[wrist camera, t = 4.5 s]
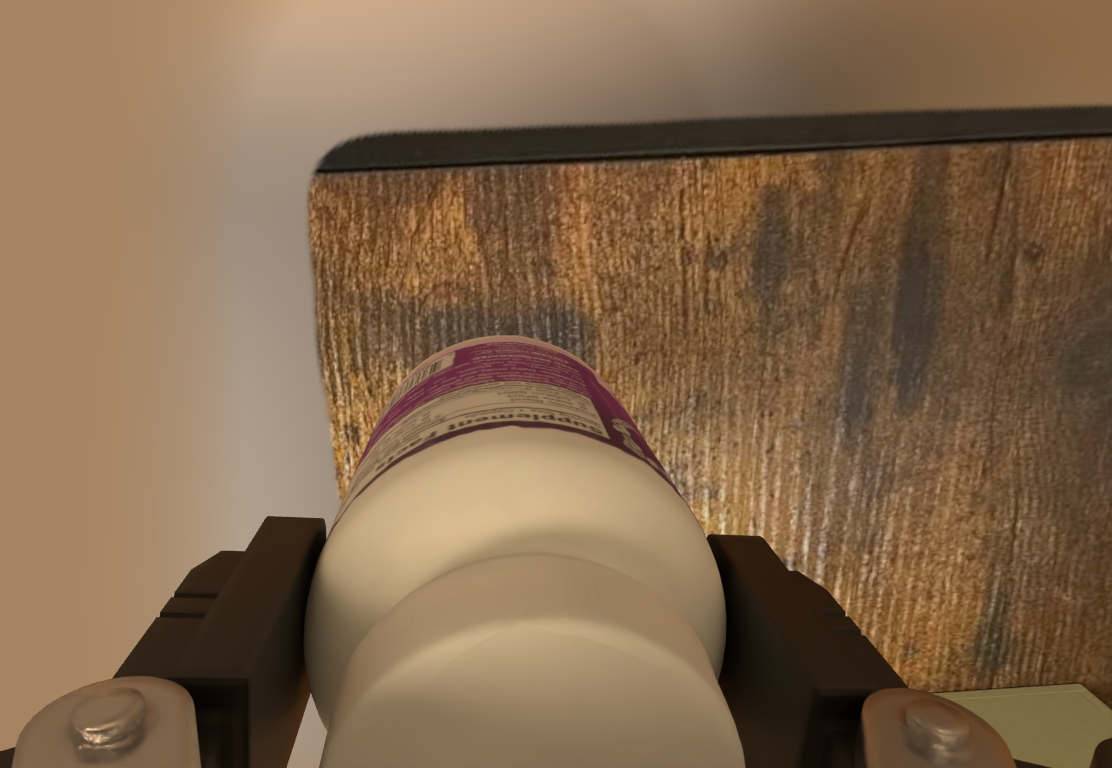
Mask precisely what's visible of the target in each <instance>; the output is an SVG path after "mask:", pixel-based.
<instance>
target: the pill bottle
mask: <svg viewBox="0 0 1112 768" xmlns="http://www.w3.org/2000/svg"><path fill="white" fill-rule="evenodd" d="M726 620H727V617H726V605H725V597H724V591H723V587H722V582H721V578H720V574H719V570H718V567H717V564H716V561H715V558H714V556H713V553H712V551H711V548H710V546H709V544H708V541H707V539H706V536H705V534H704V532H703V529H702V527H701V525H700V524H699V522H698V520H697V519H696V517H695V515H694V514H693V512H692V511H691V509H690V507H689V506H688V505H687V503H686V502H685V501H684V499H683V498H682V496H681V495H680V493H679V492H678V490H677V489H676V487H675V485H674V484H673V483H672V481H671V480H670V479H669V477H668V475H667V474H666V472H665V470H664V469H663V467H662V465H661V464H660V462H659V461H658V459H657V458H656V457H655V455H654V454H653V452H652V451H651V449H650V448H649V446H648V445H647V443H646V441H645V440H644V438H643V436H642V435H641V433H640V431H639V430H638V428H637V427H636V425H635V424H634V423H633V421H632V420H631V418H630V416H629V414H628V413H627V411H626V410H625V408H624V407H623V405H622V404H621V403H620V402H619V400H618V399H617V397H616V396H615V394H614V393H613V392H612V390H611V389H610V388H609V387H608V385H607V384H606V383H605V381H604V380H603V379H602V378H601V377H600V376H599V375H598V374H597V373H596V372H595V371H594V370H593V369H592V368H590V367H589V366H588V365H587V364H586V363H584V362H583V361H582V360H581V359H579V358H578V357H576V356H574V355H572V354H571V353H569V352H567V351H566V350H563V349H561V348H559V347H557V346H554V345H552V344H549V343H546V342H543V341H540V340H536V339H532V338H528V337H523V336H515V335H513V336H487V337H480V338H475V339H471V340H466V341H464V342H461V343H458V344H455V345H452V346H450V347H448V348H446V349H444V350H442V351H440V352H438V353H436V354H434V355H432V356H431V357H429V358H428V359H426V360H425V361H423V362H422V363H421V364H419V365H418V366H417V367H416V368H415V369H414V370H413V371H412V372H411V373H410V374H409V375H408V376H407V377H406V378H405V379H404V380H403V381H402V382H401V383H400V385H399V386H398V387H397V388H396V390H395V391H394V393H393V395H392V396H391V398H390V399H389V401H388V402H387V404H386V406H385V408H384V410H383V412H382V414H381V416H380V418H379V420H378V422H377V424H376V426H375V428H374V431H373V433H372V435H371V437H370V439H369V442H368V444H367V446H366V449H365V451H364V453H363V455H362V457H361V459H360V462H359V464H358V466H357V468H356V471H355V473H354V476H353V478H352V480H351V482H350V485H349V487H348V490H347V492H346V495H345V497H344V499H343V502H342V504H341V507H340V509H339V512H338V514H337V516H336V519H335V521H334V523H333V526H332V528H331V531H330V533H329V535H328V538H327V540H326V542H325V545H324V547H323V548H322V550H321V553H320V555H319V557H318V560H317V564H316V567H315V570H314V574H313V577H312V581H311V587H310V591H309V595H308V600H307V606H306V612H305V621H304V637H303V649H304V658H305V668H306V673H307V678H308V682H309V686H310V690H311V694H312V697H313V700H314V702H315V705H316V708H317V711H318V713H319V716H320V718H321V720H322V722H323V724H324V726H325V728H326V730H327V731H328V732H327V736H326V741H325V745H324V749H323V753H322V758H321V762H320V766H319V768H745V761H744V754H743V748H742V745H741V742H740V739H739V735H738V732H737V729H736V725H735V722H734V720H733V717H732V715H731V712H730V710H729V708H728V705H727V703H726V700H725V698H724V696H723V693H722V691H721V689H720V687H719V684H718V679H719V676H720V672H721V668H722V664H723V659H724V651H725V644H726Z"/></svg>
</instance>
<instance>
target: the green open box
mask: <svg viewBox="0 0 1112 768" xmlns="http://www.w3.org/2000/svg"><path fill="white" fill-rule="evenodd" d="M932 694H935V695H938V696H941V697H943V698H946V699H949V700H951V701H953V702H955V703H957V704H959V705H961V706H963V707H965V708H967V709H968V710H970V711H972V712H973V713H975V714H976V715H978V716H979V717H981V718H982V719H983V720H985V721H986V722H987V723H988V724H990V725H991V726H992V727H993V728H994V729H995V730H996V731H997V732H998V733H999V734H1000V736H1001V737H1002V738H1003V740H1004V741H1005V742H1006V744H1007V746H1008V748H1009V750H1010V752H1011V755H1012V758H1013V759H1017V760H1021V761H1025V762H1029V763H1034V764H1038V765H1042V766H1047V767H1051V768H1089V767H1090V764H1091V761H1092V758H1093V754H1094V751H1095V748H1096V747H1097V745H1098V744H1099V743H1100V742H1102V741H1103V740H1106V739H1109V738H1112V710H1111V709H1110V708H1109V707H1107V706H1106V705H1105V704H1104V703H1103V702H1101V701H1100V700H1099V699H1098V698H1097V697H1095V696H1094V695H1093V694H1092V693H1091V692H1089V691H1088V690H1087V689H1086V688H1085V687H1084V686H1082V685H1081V684H1064V685H1049V686H1034V687H1019V688H1004V689H989V690H974V691H960V692H945V693H932Z"/></svg>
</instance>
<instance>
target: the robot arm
mask: <svg viewBox="0 0 1112 768" xmlns="http://www.w3.org/2000/svg"><path fill="white" fill-rule="evenodd" d="M706 539H707V541H708V544H709V546H710V548H711V551H712V553H713V556H714V558H715V561H716V564H717V567H718V570H719V574H720V578H721V582H722V587H723V591H724V597H725V605H726V617H727V620H726V644H725V651H724V659H723V664H722V668H721V672H720V676H719V679H718V684H719V687H720V689H721V691H722V693H723V696H724V698H725V700H726V703H727V705H728V708H729V710H730V712H731V715H732V717H733V720H734V722H735V725H736V729H737V732H738V735H739V739H740V742H741V745H742V748H743V754H744V761H745V768H1051V767H1047V766H1042V765H1038V764H1034V763H1029V762H1025V761H1021V760H1017V759H1013V758H1012V755H1011V752H1010V750H1009V748H1008V746H1007V744H1006V742H1005V741H1004V740H1003V738H1002V737H1001V736H1000V734H999V733H998V732H997V731H996V730H995V729H994V728H993V727H992V726H991V725H990V724H988V723H987V722H986V721H985V720H983V719H982V718H981V717H979V716H978V715H976V714H975V713H973V712H972V711H970V710H968V709H967V708H965V707H963V706H961V705H959V704H957V703H955V702H953V701H951V700H949V699H946V698H943V697H941V696H938V695H935V694H932V693H928V692H925V691H920V690H915V689H909V688H908V686H907V685H906V684H905V683H904V682H903V681H902V679H901V678H900V677H899V676H898V675H897V673H896V672H895V671H894V670H893V669H892V667H891V666H890V665H889V664H888V663H887V661H886V660H885V659H884V658H883V657H882V655H881V654H880V653H879V652H878V651H877V649H876V648H875V647H874V646H873V645H872V643H871V642H870V641H869V640H868V639H867V637H866V636H865V635H861V630H860V629H859V628H858V627H857V625H856V624H855V623H854V622H853V621H852V619H851V618H850V617H846V616H845V611H844V610H843V609H842V607H841V606H840V605H839V604H838V603H837V602H836V600H835V599H834V598H833V597H832V596H831V594H830V593H829V592H828V591H827V590H826V589H824V588H823V587H821V586H820V585H818V584H817V583H815V582H814V581H812V580H811V579H809V578H808V577H806V576H805V575H803V574H801V573H800V572H798V571H789V570H788V569H787V568H786V567H785V565H784V564H783V563H782V561H781V560H780V559H779V558H778V556H777V555H776V554H775V552H774V551H773V550H772V549H771V547H770V546H769V545H768V543H767V542H766V541H765V540H764V539H763V538H762V537H761V536H743V535H718V534H710V535H708V537H707V538H706ZM325 542H326V525H325V521H324V519H323V518H300V517H273V516H268V517H267V518H266V519H265V520H264V522H263V523H262V525H261V526H260V528H259V530H258V531H257V533H256V535H255V536H254V538H253V539H252V541H251V543H250V544H249V546H248V548H247V549H246V551H221V552H219V553H217V554H216V555H214V556H213V557H211V558H209V559H208V560H206V561H205V562H203V563H201V564H200V565H198V566H196V567H195V568H193V569H192V570H191V571H190V572H189V574H188V575H187V576H186V578H185V579H184V580H183V582H182V583H181V584H180V586H179V587H178V589H177V590H176V591H175V595H174V597H171V598H170V600H169V601H168V602H167V604H166V605H165V606H164V608H163V609H162V611H161V612H160V617H157V618H156V619H155V620H154V622H153V623H152V624H151V626H150V627H149V628H148V630H147V631H146V633H145V634H144V635H143V637H142V638H141V640H140V641H139V642H138V644H137V645H136V646H135V648H134V649H133V650H132V652H131V653H130V655H129V656H128V657H127V659H126V660H125V661H124V663H123V664H122V666H121V667H120V668H119V670H118V671H117V673H116V674H115V675H114V677H113V678H112V679H109V680H105V681H100V682H96V683H93V684H90V685H87V686H84V687H82V688H79V689H77V690H74V691H72V692H70V693H68V694H66V695H64V696H62V697H60V698H58V699H56V700H55V701H53V702H52V703H50V704H49V705H47V706H46V707H44V708H43V709H42V710H41V711H39V712H38V713H37V714H36V715H35V716H34V717H33V718H32V719H31V720H30V721H29V722H28V723H27V724H26V725H25V727H24V729H23V730H22V732H21V734H20V735H19V738H18V741H17V744H16V747H14V748H10V749H7V750H4V751H0V768H286V767H287V764H288V761H289V758H290V755H291V752H292V748H293V746H294V743H295V739H296V736H297V733H298V730H299V727H300V724H301V721H302V718H303V715H304V711H305V708H306V705H307V702H308V699H309V696H310V693H311V690H310V686H309V682H308V678H307V673H306V668H305V658H304V649H303V637H304V621H305V612H306V606H307V600H308V595H309V591H310V587H311V581H312V577H313V574H314V570H315V567H316V564H317V560H318V557H319V555H320V553H321V550H322V548H323V547H324V545H325ZM1089 768H1112V738H1109V739H1106V740H1103V741H1102V742H1100V743H1099V744H1098V745H1097V747H1096V748H1095V751H1094V754H1093V758H1092V761H1091V764H1090V767H1089Z"/></svg>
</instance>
